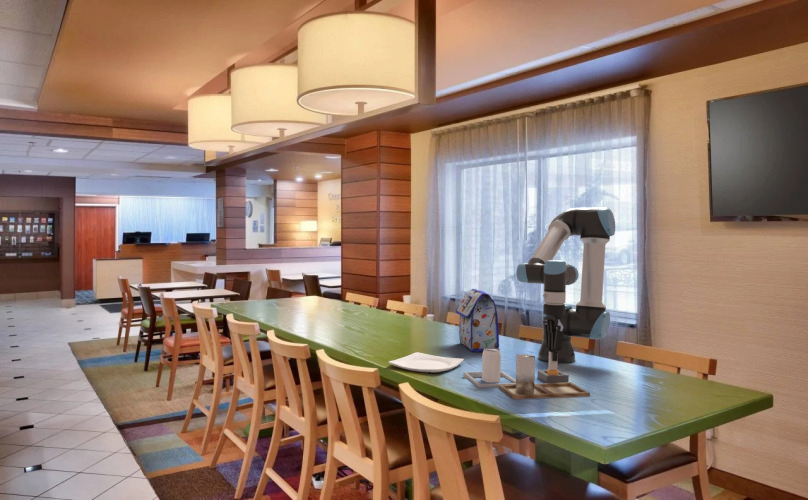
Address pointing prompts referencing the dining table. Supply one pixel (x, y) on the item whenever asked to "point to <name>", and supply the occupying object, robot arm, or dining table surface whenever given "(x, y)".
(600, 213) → the robot arm
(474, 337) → the lunch bag
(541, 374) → the grey square egg holder
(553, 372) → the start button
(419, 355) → the plate
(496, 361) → the can
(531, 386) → the billet
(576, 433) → the dining table surface
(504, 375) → the grey rectangular frame
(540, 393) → the divided wooden tray
